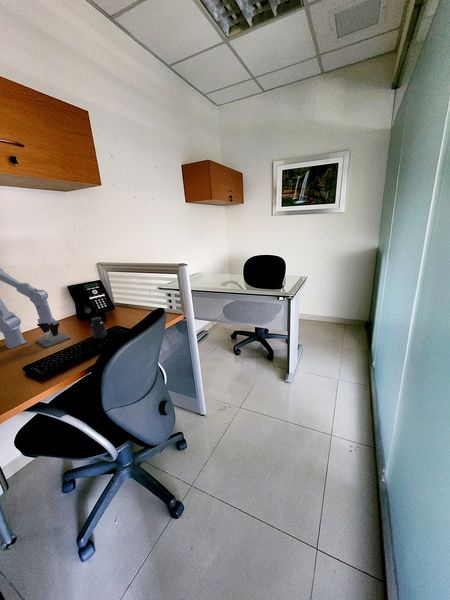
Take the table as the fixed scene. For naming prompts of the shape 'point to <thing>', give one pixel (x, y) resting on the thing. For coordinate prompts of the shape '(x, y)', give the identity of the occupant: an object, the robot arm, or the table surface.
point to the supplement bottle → (98, 328)
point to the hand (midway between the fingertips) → (51, 334)
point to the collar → (50, 336)
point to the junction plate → (54, 342)
